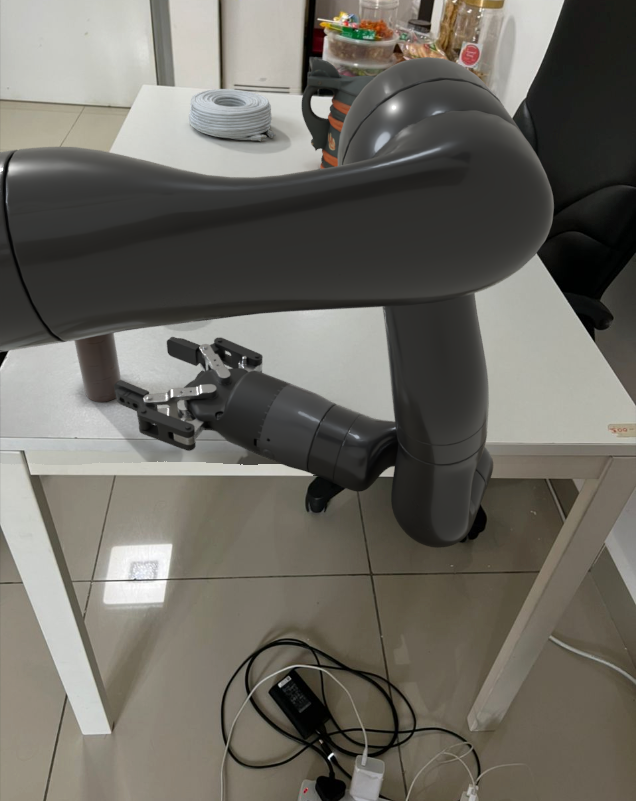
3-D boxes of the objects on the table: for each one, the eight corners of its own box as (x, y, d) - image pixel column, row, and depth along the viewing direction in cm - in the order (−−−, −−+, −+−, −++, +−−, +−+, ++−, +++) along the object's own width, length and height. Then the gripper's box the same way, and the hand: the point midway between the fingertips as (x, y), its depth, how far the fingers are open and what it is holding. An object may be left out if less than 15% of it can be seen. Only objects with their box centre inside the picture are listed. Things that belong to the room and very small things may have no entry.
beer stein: (299, 189, 117) (306, 70, 104) (296, 158, 128) (302, 47, 115) (401, 194, 119) (421, 78, 106) (390, 163, 130) (406, 54, 116)
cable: (277, 142, 133) (279, 112, 129) (192, 143, 130) (191, 111, 125) (263, 114, 146) (264, 85, 142) (185, 113, 142) (184, 84, 138)
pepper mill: (92, 406, 70) (76, 331, 64) (80, 385, 73) (64, 311, 66) (127, 395, 72) (116, 321, 65) (115, 375, 74) (102, 301, 68)
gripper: (317, 352, 64) (181, 303, 69) (243, 439, 55) (91, 375, 59) (311, 407, 69) (185, 358, 74) (243, 496, 59) (102, 433, 64)
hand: (144, 366), depth 66 cm, fingers open, 8 cm apart
